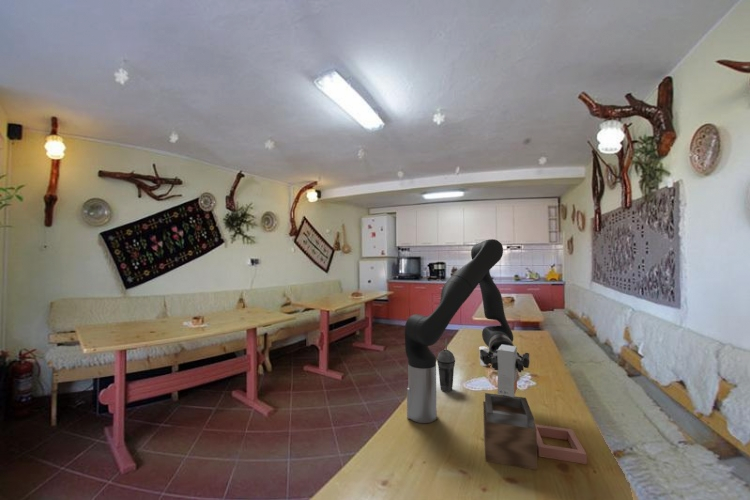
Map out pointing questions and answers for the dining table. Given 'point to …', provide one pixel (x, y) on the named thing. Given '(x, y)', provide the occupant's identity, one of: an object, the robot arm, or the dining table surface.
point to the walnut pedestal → (509, 431)
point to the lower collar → (560, 453)
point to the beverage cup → (446, 369)
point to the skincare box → (507, 370)
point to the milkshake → (479, 353)
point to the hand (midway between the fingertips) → (508, 367)
